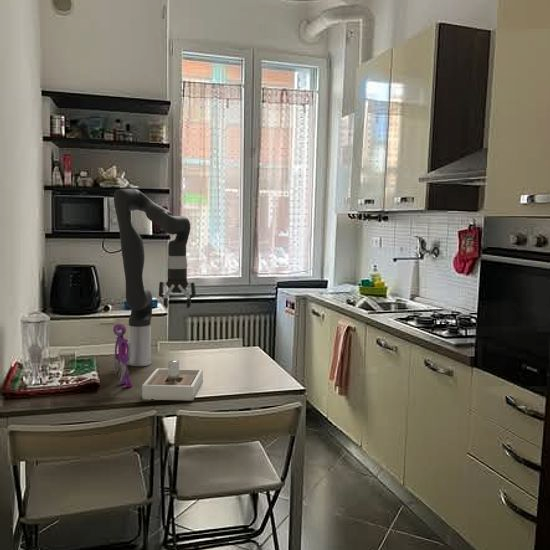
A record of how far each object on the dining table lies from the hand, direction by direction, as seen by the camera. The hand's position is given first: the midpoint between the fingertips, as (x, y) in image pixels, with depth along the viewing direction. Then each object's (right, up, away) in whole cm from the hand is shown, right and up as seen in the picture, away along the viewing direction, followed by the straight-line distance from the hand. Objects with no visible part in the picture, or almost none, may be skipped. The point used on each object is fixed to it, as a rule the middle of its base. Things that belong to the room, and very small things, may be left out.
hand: (177, 307), depth 225 cm
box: (+1, -30, -14) cm, 33 cm away
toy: (-20, -29, -10) cm, 37 cm away
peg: (+1, -29, -14) cm, 32 cm away
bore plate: (+1, -30, -14) cm, 33 cm away
